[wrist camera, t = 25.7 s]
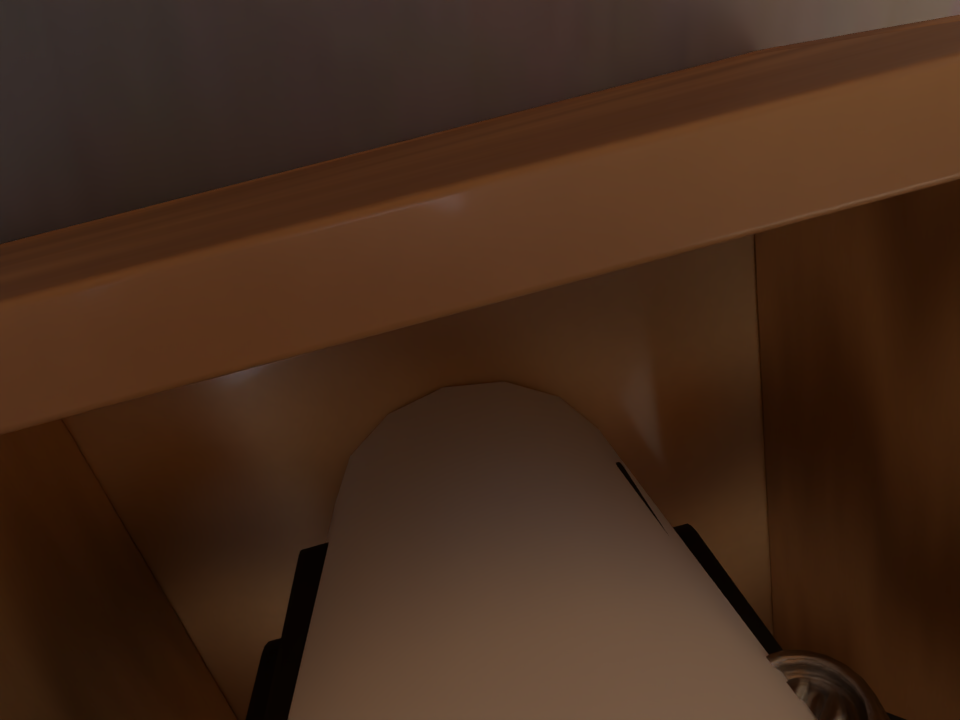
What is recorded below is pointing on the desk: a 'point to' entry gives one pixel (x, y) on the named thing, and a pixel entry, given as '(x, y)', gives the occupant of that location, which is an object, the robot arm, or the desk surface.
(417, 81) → the desk surface
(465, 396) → the white tumbler
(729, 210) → the box
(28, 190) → the desk surface
